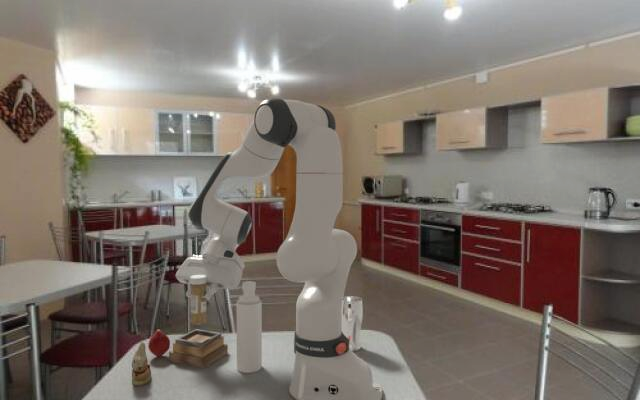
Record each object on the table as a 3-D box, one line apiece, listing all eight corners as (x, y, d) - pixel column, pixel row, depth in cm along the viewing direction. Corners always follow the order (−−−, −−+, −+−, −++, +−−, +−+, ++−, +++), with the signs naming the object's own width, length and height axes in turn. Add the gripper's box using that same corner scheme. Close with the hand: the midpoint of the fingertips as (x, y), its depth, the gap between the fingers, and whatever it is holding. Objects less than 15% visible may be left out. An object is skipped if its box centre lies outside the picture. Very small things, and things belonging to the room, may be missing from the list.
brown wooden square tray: (227, 352, 131) (227, 332, 130) (204, 368, 120) (204, 346, 120) (194, 346, 135) (194, 327, 135) (169, 360, 125) (168, 339, 125)
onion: (173, 353, 130) (173, 326, 130) (164, 361, 124) (164, 333, 124) (154, 352, 131) (153, 325, 130) (144, 360, 125) (144, 332, 124)
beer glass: (335, 345, 137) (335, 297, 136) (355, 341, 140) (355, 294, 139) (346, 353, 130) (346, 303, 130) (366, 349, 133) (367, 300, 132)
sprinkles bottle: (208, 323, 127) (208, 276, 126) (192, 326, 124) (192, 278, 123) (203, 318, 130) (203, 273, 129) (188, 321, 128) (187, 275, 127)
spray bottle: (232, 367, 121) (231, 276, 120) (253, 360, 126) (252, 272, 124) (245, 375, 116) (244, 281, 115) (266, 368, 121) (266, 277, 119)
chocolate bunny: (122, 386, 110) (121, 346, 109) (140, 372, 118) (139, 335, 117) (142, 388, 109) (142, 348, 109) (159, 373, 117) (158, 336, 116)
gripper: (184, 248, 136) (162, 287, 128) (241, 254, 129) (222, 296, 120) (193, 260, 141) (173, 299, 132) (249, 266, 133) (231, 307, 125)
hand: (197, 297), depth 126 cm, fingers closed on sprinkles bottle, 4 cm apart
